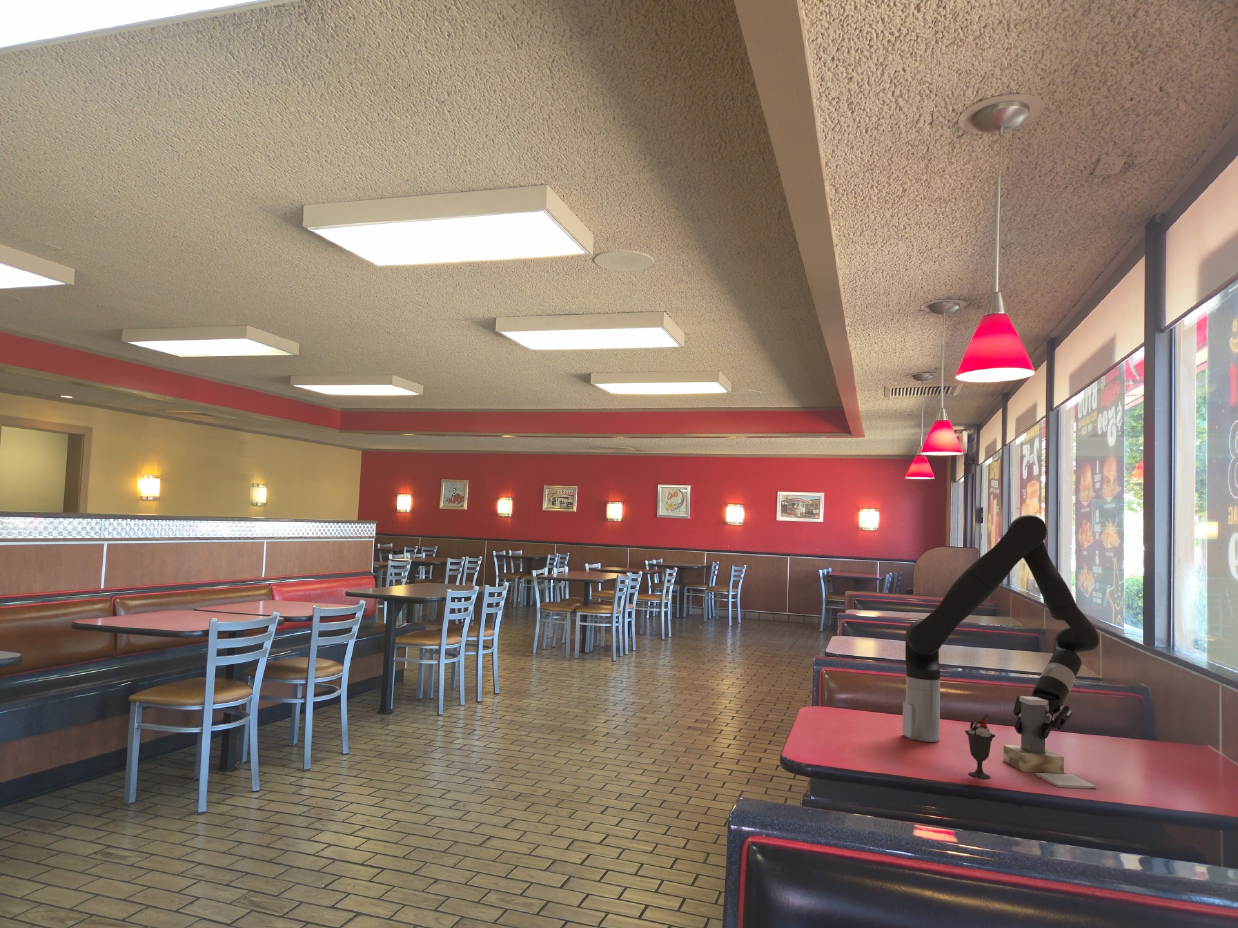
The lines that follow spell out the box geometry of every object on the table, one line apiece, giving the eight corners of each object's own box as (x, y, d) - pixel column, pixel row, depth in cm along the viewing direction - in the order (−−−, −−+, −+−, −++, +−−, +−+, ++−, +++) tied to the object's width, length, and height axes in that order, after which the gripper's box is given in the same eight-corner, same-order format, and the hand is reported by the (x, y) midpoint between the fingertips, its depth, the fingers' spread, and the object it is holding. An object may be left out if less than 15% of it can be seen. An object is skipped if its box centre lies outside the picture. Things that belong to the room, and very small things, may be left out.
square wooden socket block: (1024, 771, 193) (1024, 755, 193) (1003, 760, 203) (1003, 744, 203) (1063, 773, 193) (1063, 756, 193) (1040, 761, 203) (1040, 746, 203)
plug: (1029, 769, 195) (1029, 699, 197) (1019, 763, 200) (1019, 696, 202) (1047, 769, 195) (1046, 700, 197) (1036, 764, 200) (1036, 696, 202)
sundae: (993, 781, 183) (993, 717, 184) (962, 776, 186) (963, 712, 188) (996, 775, 188) (996, 712, 190) (966, 769, 192) (967, 708, 193)
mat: (1058, 787, 181) (1058, 784, 181) (1036, 775, 190) (1036, 772, 190) (1095, 788, 181) (1095, 785, 182) (1072, 776, 190) (1072, 774, 190)
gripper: (1022, 670, 210) (996, 718, 202) (1077, 679, 198) (1051, 731, 190) (1033, 688, 212) (1008, 737, 205) (1088, 699, 200) (1063, 751, 193)
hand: (1029, 734), depth 197 cm, fingers closed on plug, 5 cm apart
